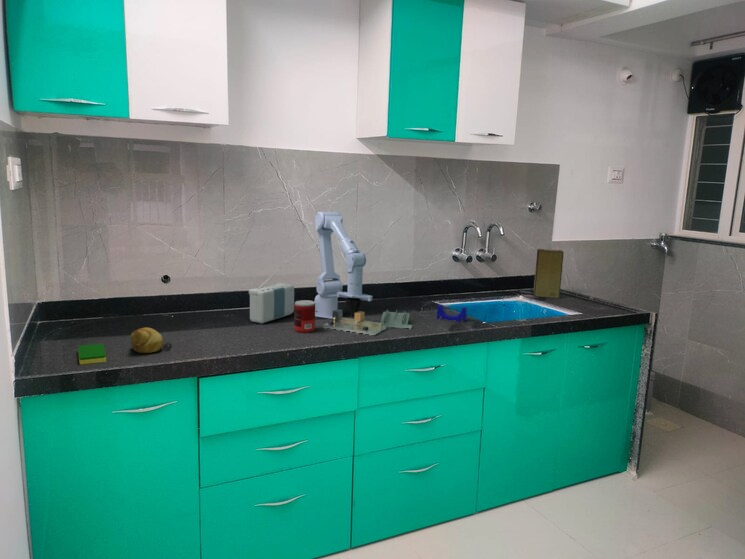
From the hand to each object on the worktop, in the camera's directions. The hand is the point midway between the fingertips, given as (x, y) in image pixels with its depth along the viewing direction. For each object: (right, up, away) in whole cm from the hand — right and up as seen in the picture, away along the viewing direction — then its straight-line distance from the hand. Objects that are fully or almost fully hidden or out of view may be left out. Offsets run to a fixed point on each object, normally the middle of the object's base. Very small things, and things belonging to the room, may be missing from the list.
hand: (353, 316), depth 220 cm
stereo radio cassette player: (-34, -2, +8) cm, 35 cm away
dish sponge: (-80, -10, -47) cm, 93 cm away
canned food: (-19, -5, -8) cm, 21 cm away
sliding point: (+2, -3, -1) cm, 3 cm away
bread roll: (-66, -8, -38) cm, 77 cm away
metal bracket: (+16, -4, +7) cm, 18 cm away
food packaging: (+101, +6, +80) cm, 129 cm away
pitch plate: (0, -4, -2) cm, 5 cm away
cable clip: (+41, -3, +19) cm, 46 cm away
